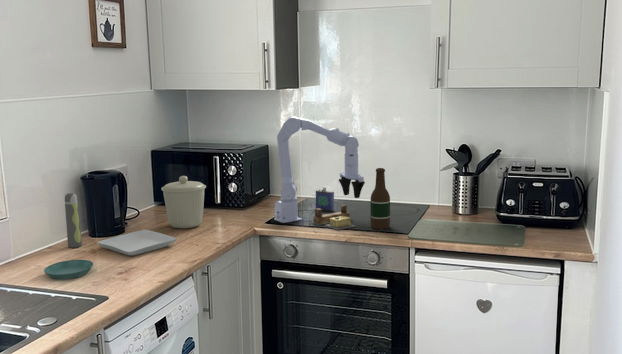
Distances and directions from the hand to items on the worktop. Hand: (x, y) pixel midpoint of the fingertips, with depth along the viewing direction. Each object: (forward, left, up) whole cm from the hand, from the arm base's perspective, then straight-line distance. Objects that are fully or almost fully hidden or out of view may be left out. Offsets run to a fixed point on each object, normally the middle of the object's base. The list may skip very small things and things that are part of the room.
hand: (351, 196), depth 257 cm
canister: (-62, +32, -10) cm, 70 cm away
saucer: (-115, -5, -10) cm, 116 cm away
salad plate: (-88, +12, -10) cm, 89 cm away
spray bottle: (-107, +27, -10) cm, 111 cm away
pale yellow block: (-11, -7, -10) cm, 16 cm away
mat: (-11, -7, -10) cm, 16 cm away
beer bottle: (+1, -18, -10) cm, 21 cm away
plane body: (-9, +2, -10) cm, 14 cm away
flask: (0, +21, -10) cm, 23 cm away
